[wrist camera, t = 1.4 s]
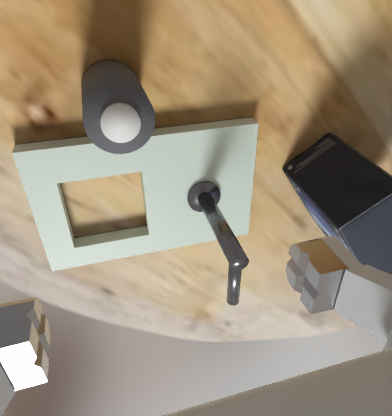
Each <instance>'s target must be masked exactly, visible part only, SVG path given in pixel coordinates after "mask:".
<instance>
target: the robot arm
mask: <svg viewBox="0 0 392 416" xmlns="http://www.w3.org/2000/svg"><path fill="white" fill-rule="evenodd" d="M289 255H290V256H291V257H292V258H291V259H290V260H289V261H288V263H287V268H286V273H287V278H288V281H289V283H290V285H291V286H292V288H293V289H294V290H295V291H297V292H299V293H301V298H300V300H301V301H302V303H303V304H304V306H305V307H306V308H307V310H308V311H309V313H310V314H314V313H319V312H323V311H328V310H332V309H334V311H335V312H337V313H338V314H340V315H341V316H343V317H344V318H346V319H348V320H349V321H351V322H352V323H354V324H355V325H357V326H359V327H360V328H362V329H363V330H365V331H366V332H368V333H369V334H371V335H372V336H374V337H376V338H377V339H379V340H380V341H382V342H383V343H385V345H384V348H383V350H382V351H381V352H377V353H374V354H370V355H367V356H364V357H360V358H357V359H353V360H350V361H347V362H343V363H340V364H337V365H333V366H330V367H326V368H323V369H320V370H316V371H313V372H309V373H306V374H302V375H299V376H296V377H292V378H289V379H285V380H282V381H279V382H275V383H272V384H269V385H265V386H262V387H258V388H255V389H252V390H248V391H245V392H241V393H238V394H235V395H231V396H228V397H224V398H221V399H218V400H214V401H211V402H207V403H204V404H201V405H198V406H194V407H190V408H187V409H184V410H180V411H177V412H174V413H170V414H167V415H163V416H392V275H391V274H389V273H386V272H384V271H382V270H379V269H377V268H374V267H372V266H369V265H362V264H361V263H360V262H359V261H358V260H357V259H356V257H355V256H354V255H353V254H352V253H351V252H350V251H349V250H348V249H347V248H346V247H345V246H344V245H343V244H342V243H341V242H340V241H339V240H338V239H337V238H336V237H334V236H327V237H323V238H319V239H314V240H309V241H305V242H300V243H296V244H292V245H291V246H290V249H289ZM41 309H42V305H41V303H40V300H39V298H37V297H35V298H30V299H25V300H19V301H14V302H8V303H3V304H0V416H1V415H2V413H3V412H4V410H5V408H6V407H7V405H8V404H9V402H10V401H11V399H12V397H13V395H14V394H15V391H16V390H19V389H23V388H26V387H30V386H33V385H37V384H41V383H44V382H47V377H48V365H49V360H48V358H47V355H46V352H47V350H48V349H49V348H50V329H49V324H48V321H47V318H46V316H45V315H43V314H41Z"/></svg>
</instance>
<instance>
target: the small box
mask: <svg viewBox="0 0 392 416" xmlns="http://www.w3.org/2000/svg"><path fill="white" fill-rule="evenodd" d="M283 171H284V173H285V175H286V176H287V178H288V179H289V181H290V183H291V184H292V186H293V188H294V189H295V191H296V192H297V194H298V196H299V197H300V199H301V200H302V202H303V204H304V205H305V207H306V208H307V210H308V212H309V213H310V215H311V216H312V218H313V220H314V221H315V223H316V224H317V225H318V227H319V228H320V229H321V230H322V231H323V233H324V234H325V235H326V236H334V237H336V238H337V239H338V240H339V241H340V242H341V243H342V244H343V245H344V246H345V247H346V248H347V249H348V250H349V251H350V252H351V253H352V254H353V255H354V256H355V257H356V259H357V260H358V261H359V262H360V263H361V264H362V265H369V266H372V267H374V268H377V269H379V270H382V271H384V272H386V273H389V274H392V175H390V174H389V173H387V172H386V171H384V170H383V169H382V168H380V167H379V166H377V165H376V164H375V163H373V162H372V161H370V160H369V159H368V158H366V157H364V156H363V155H362V154H360V153H359V152H358V151H356V150H355V149H353V148H352V147H350V146H349V145H348V144H347V143H345V142H344V141H343V140H341V139H340V138H339V137H337V136H336V135H335V134H334V133H329V134H328V135H326V136H325V137H324V138H323V139H321V140H320V141H318V142H317V143H316V144H315V145H313V146H312V147H310V148H309V149H308V150H306V151H305V152H303V153H302V154H301V155H299V156H298V157H296V158H295V159H294V160H292V161H291V162H290V163H288V164H287V165H286V166H285V167H284V168H283Z"/></svg>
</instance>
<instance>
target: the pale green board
mask: <svg viewBox="0 0 392 416" xmlns="http://www.w3.org/2000/svg"><path fill="white" fill-rule="evenodd" d="M258 124H259V123H257V122H256V121H255V120H254V119H253V118H252V117H251V118H242V119H234V120H225V121H216V122H208V123H199V124H190V125H182V126H173V127H165V128H156V129H154V131H153V134H152V136H151V137H150V139H149V140H148V142H147V143H146V144H145V145H144V146H142V147H141V148H139V149H138V150H136V151H134V152H131V153H126V154H113V153H109V152H106V151H104V150H102V149H100V148H98V147H97V146H96V145H95V144H94V143H93V142H92V141H91V140H90V139H89V137H88V136H87V137H78V138H70V139H61V140H53V141H44V142H35V143H27V144H18V145H15V146H14V149H13V152H12V154H13V157H14V160H15V163H16V166H17V169H18V172H19V175H20V178H21V181H22V184H23V187H24V190H25V193H26V196H27V199H28V202H29V204H30V207H31V210H32V213H33V216H34V219H35V222H36V225H37V228H38V231H39V234H40V237H41V240H42V243H43V246H44V249H45V252H46V254H47V257H48V260H49V263H50V266H51V269H52V271H56V270H61V269H67V268H72V267H77V266H82V265H88V264H93V263H98V262H103V261H109V260H114V259H119V258H124V257H130V256H135V255H140V254H145V253H151V252H156V251H161V250H166V249H172V248H177V247H182V246H187V245H193V244H198V243H203V242H208V241H214V240H217V238H216V236H215V234H214V232H213V230H212V228H211V226H210V224H209V222H208V220H207V218H206V216H205V214H204V212H197V211H194V210H193V209H192V208H191V207H190V206H189V204H188V201H187V195H188V192H189V190H190V189H191V188H192V187H193V186H194V185H195V184H197V183H199V182H202V181H210V182H213V183H215V184H216V185H217V186H218V188H219V190H220V193H221V197H220V201H219V203H218V204H217V206H218V207H219V209H220V211H221V212H222V214H223V216H224V218H225V219H226V221H227V223H228V225H229V226H230V228H231V230H232V232H233V233H234V235H235V236H240V235H245V234H248V230H249V219H250V208H251V198H252V187H253V177H254V166H255V155H256V145H257V134H258ZM135 172H141V181H142V190H143V198H144V207H145V216H146V225H147V226H142V227H136V228H130V229H124V230H119V231H113V232H107V233H101V234H96V235H90V236H84V237H78V238H74V235H73V231H72V227H71V224H70V220H69V216H68V212H67V209H66V205H65V201H64V198H63V194H62V190H61V186H60V183H64V182H71V181H78V180H85V179H93V178H100V177H107V176H114V175H121V174H128V173H135Z"/></svg>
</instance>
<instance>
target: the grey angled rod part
mask: <svg viewBox="0 0 392 416" xmlns="http://www.w3.org/2000/svg"><path fill="white" fill-rule="evenodd" d="M220 197H221V193H220V190H219V188H218V186H217V185H216V184H215V183H213V182H210V181H202V182H199V183H197V184H195V185H194V186H193V187H192V188H191V189H190V190H189V192H188V195H187V201H188V204H189V206H190V207H191V208H192V209H193V210H194V211H197V212H204V214H205V216H206V218H207V220H208V222H209V224H210V226H211V228H212V230H213V232H214V234H215V236H216V238H217V240H218V242H219V244H220V246H221V248H222V250H223V252H224V254H225V256H226V258H227V260H228V262H229V271H228V288H227V302H228V304H230V305H237V304H238V302H239V294H240V282H241V271H242V269H244V268H245V267H246V266H247V265H248V263H249V259H248V258H247V256H246V254H245V252H244V251H243V249H242V247H241V245H240V244H239V242H238V240H237V238H236V237H235V235H234V233H233V232H232V230H231V228H230V226H229V225H228V223H227V221H226V219H225V218H224V216H223V214H222V212H221V211H220V209H219V207H218V206H217V204H218V203H219V201H220Z"/></svg>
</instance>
